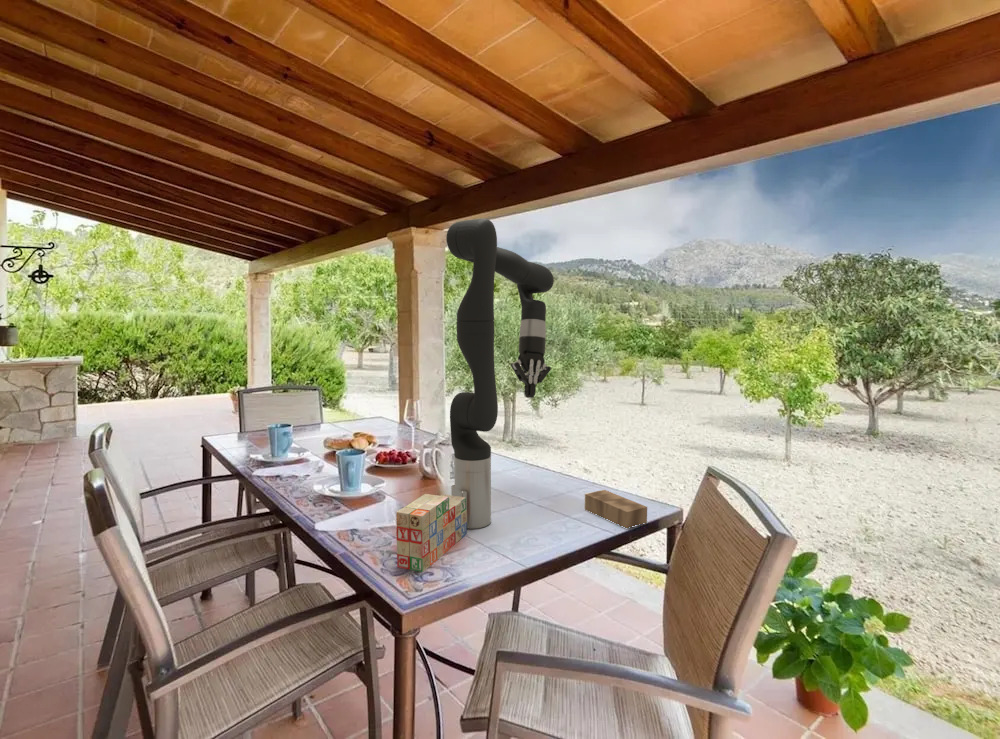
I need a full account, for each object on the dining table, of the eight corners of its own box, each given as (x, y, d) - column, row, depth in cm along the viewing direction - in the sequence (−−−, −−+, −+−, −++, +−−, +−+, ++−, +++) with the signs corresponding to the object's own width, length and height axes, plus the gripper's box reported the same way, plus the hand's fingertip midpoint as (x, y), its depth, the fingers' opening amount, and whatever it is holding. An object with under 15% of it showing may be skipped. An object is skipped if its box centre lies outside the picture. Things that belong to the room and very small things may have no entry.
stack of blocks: (444, 530, 133) (443, 481, 132) (467, 534, 131) (467, 484, 130) (396, 567, 113) (395, 510, 112) (422, 573, 111) (422, 515, 110)
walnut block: (584, 509, 147) (626, 529, 134) (584, 493, 147) (627, 512, 133) (603, 505, 151) (646, 524, 137) (604, 489, 151) (647, 506, 137)
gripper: (521, 332, 148) (518, 395, 146) (558, 338, 155) (556, 399, 153) (505, 335, 154) (502, 396, 152) (542, 341, 161) (540, 399, 160)
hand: (529, 397), depth 153 cm, fingers closed
